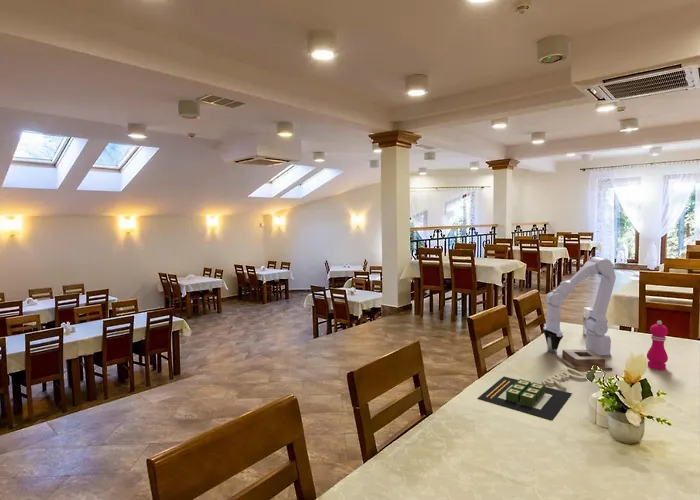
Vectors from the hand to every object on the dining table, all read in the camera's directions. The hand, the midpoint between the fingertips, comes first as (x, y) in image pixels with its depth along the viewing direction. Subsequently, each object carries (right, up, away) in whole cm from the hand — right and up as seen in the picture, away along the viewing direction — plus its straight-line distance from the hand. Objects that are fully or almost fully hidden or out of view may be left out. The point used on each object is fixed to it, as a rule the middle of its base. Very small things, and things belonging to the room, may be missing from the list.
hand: (552, 347), depth 200 cm
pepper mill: (+35, -4, -19) cm, 40 cm away
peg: (0, -2, 0) cm, 2 cm away
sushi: (-31, -9, -44) cm, 55 cm away
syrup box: (+32, 0, +24) cm, 40 cm away
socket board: (+7, -4, -14) cm, 16 cm away
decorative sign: (-10, -7, -31) cm, 33 cm away
